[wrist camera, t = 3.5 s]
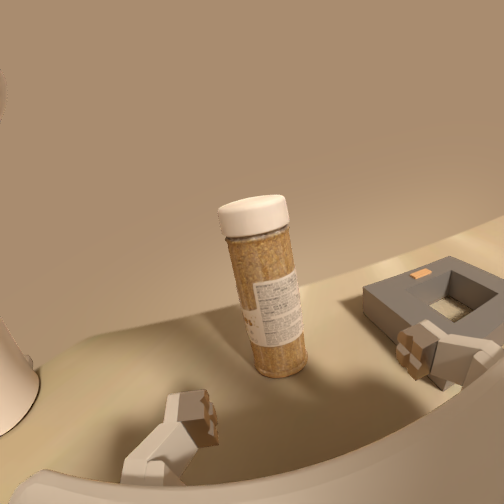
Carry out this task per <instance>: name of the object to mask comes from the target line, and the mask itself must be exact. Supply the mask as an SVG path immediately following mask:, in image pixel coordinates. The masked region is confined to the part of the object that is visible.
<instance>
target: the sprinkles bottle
mask: <svg viewBox="0 0 504 504" xmlns="http://www.w3.org/2000/svg"><path fill="white" fill-rule="evenodd" d="M218 217H219V223H220V227H221V231H222V234H223V235H224V236H226V238H225V241H226V242H227V244H228V249H229V253H230V258H231V262H232V267H233V271H234V276H235V280H236V287H237V292H238V296H239V300H240V305H241V309H242V313H243V317H244V321H245V325H246V329H247V334H248V337H249V339H250V342H251V347H252V350H253V353H254V358H255V359H254V364H255V367H256V369H257V370H258V371H259V372H260V373H261V374H262V375H264V376H267V377H271V378H282V377H287V376H290V375H293V374H295V373H297V372H299V371H300V370H301V369H303V367H304V366H305V365H306V362H307V358H308V354H307V351H306V349H305V343H304V334H303V319H302V311H301V303H300V295H299V288H298V281H297V275H296V268H295V265H294V261H293V255H292V248H291V242H290V236H289V226H288V223H289V214H288V209H287V204H286V200H285V197H284V196H282V195H264V196H257V197H251V198H246V199H242V200H238V201H235V202H231V203H229V204H226V205H223V206H221V207H220V208H219V209H218Z"/></svg>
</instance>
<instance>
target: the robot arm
mask: <svg viewBox="0 0 504 504" xmlns="http://www.w3.org/2000/svg"><path fill="white" fill-rule="evenodd" d="M6 102H7V84H6V80H5V77H4V74H3V72H2V71H1V70H0V122H1V120H2V117H3V114H4V111H5V107H6ZM397 340H398V341H399V344H398V346H397V347H396V357H397V360H398V362H399V364H400V365H401V366H402V367H405V368H408V371H407V372H408V374H409V375H410V376H411V377H412V378H413V379H414V380H415V381H416V380H418V379H420V378H422V377H424V376H426V375H428V374H431V375H434V376H436V377H439V378H442V379H445V380H447V381H450V382H453V383H456V384H458V385H461V386H462V389H461V391H460V392H459V393H458V394H457V395H455V396H454V397H452V398H451V399H449V400H448V401H446V402H445V403H444V404H442V405H440V406H439V407H437V408H436V409H434V410H433V411H431V412H429V413H428V414H426V415H425V416H423V417H421V418H419V419H418V420H416V421H414V422H412V423H411V424H409V425H407V426H405V427H403V428H401V429H400V430H398V431H396V432H394V433H392V434H390V435H388V436H386V437H384V438H381V439H379V440H377V441H375V442H373V443H371V444H368V445H366V446H364V447H361V448H359V449H356V450H354V451H351V452H349V453H346V454H344V455H341V456H338V457H335V458H333V459H330V460H327V461H324V462H321V463H318V464H314V465H311V466H308V467H304V468H301V469H297V470H293V471H289V472H285V473H281V474H276V475H272V476H267V477H262V478H257V479H251V480H245V481H238V482H231V483H222V484H212V485H199V486H186V485H185V484H184V483H183V482H182V481H181V480H180V479H179V478H180V477H181V475H182V474H183V472H184V471H185V469H186V468H187V466H188V465H189V463H190V461H191V460H192V458H193V457H194V455H195V453H196V452H197V450H198V448H202V447H209V446H216V445H219V438H218V431H217V429H216V425H217V424H218V422H217V415H216V411H215V408H214V405H213V403H212V402H210V401H209V394H208V392H207V390H206V389H203V390H195V391H187V392H181V393H170V394H169V395H168V396H167V401H166V408H165V414H164V421H163V423H160V424H159V425H158V426H157V427H156V428H155V429H154V430H153V431H152V432H151V433H150V434H149V435H148V436H147V437H146V438H145V439H144V440H143V441H142V442H141V443H140V444H139V445H138V446H137V447H136V448H135V449H134V450H133V451H132V452H131V453H130V454H129V455H128V456H127V457H126V458H125V460H124V465H123V470H122V475H121V480H120V484H119V483H111V482H104V481H97V480H92V479H86V478H81V477H76V476H72V475H68V474H64V473H60V472H56V471H53V470H48V469H43V470H40V471H38V472H36V473H35V474H33V475H32V476H30V477H29V478H27V479H26V480H24V481H23V482H21V483H20V484H19V485H18V486H17V487H16V489H15V490H14V492H13V494H12V496H11V498H10V500H9V503H8V504H504V349H503V348H502V347H500V346H499V345H498V344H496V343H495V342H493V341H492V340H486V339H479V338H473V337H467V336H461V335H455V334H449V335H448V334H446V333H445V332H444V331H442V330H441V329H440V328H438V327H437V326H436V325H434V324H433V323H432V322H430V321H429V320H426V319H425V320H423V321H421V322H419V323H417V324H415V325H413V326H411V327H409V328H407V329H405V330H402V331H400V332H399V333H398V337H397ZM38 388H39V379H38V376H37V374H36V373H35V372H34V370H33V361H32V359H31V358H30V356H29V355H23V353H22V351H21V350H20V348H19V347H18V345H17V344H16V342H15V340H14V339H13V337H12V335H11V334H10V332H9V330H8V329H7V327H6V325H5V323H4V322H3V320H2V318H1V316H0V436H1V435H3V434H4V433H6V432H7V431H9V430H10V429H11V428H13V427H14V426H15V425H16V424H17V423H18V422H19V421H20V420H21V419H22V418H23V416H24V415H25V414H26V413H27V411H28V410H29V409H30V407H31V405H32V404H33V402H34V400H35V398H36V395H37V392H38Z"/></svg>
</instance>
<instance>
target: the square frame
mask: <svg viewBox="0 0 504 504" xmlns="http://www.w3.org/2000/svg"><path fill="white" fill-rule="evenodd" d="M448 295H449V296H451V297H453V298H454V299H456V300H458V301H459V302H461V303H463V304H464V305H466V306H468V307H469V308H471V309H473V310H474V311H473V312H471V313H470V314H468V315H466V316H465V317H463V318H462V319H460V320H458V321H457V322H455V323H454V322H452V321H451V320H449V319H448V318H446V317H445V316H443V315H442V314H440V313H439V312H438V311H436V310H435V309H433V308H432V307H430V306H429V305H430V304H432V303H434V302H436V301H438V300H440V299H442V298H444V297H446V296H448ZM363 313H364V314H365V315H366V316H367V317H368V318H369V319H370V320H371V321H372V322H373V323H374V324H375V325H376V326H377V327H378V328H379V329H381V330H382V331H383V332H384V333H385V334H386V335H387V336H388V337H389V338H390V339H391V340H392V341H393V342H394V343H395V344H396V345H397V346H398V344H399V341H398V340H397V337H398V333H399V332H400V331H402V330H405V329H407V328H409V327H411V326H413V325H415V324H417V323H419V322H421V321H423V320H425V319H426V320H429V321H430V322H432V323H433V324H434V325H436V326H437V327H438V328H440V329H441V330H442V331H444V332H445V333H446V334H448V335H449V334H455V335H461V336H467V337H473V338H479V339H486V340H492V341H493V342H495V343H496V344H498V345H499V346H500V347H501V346H502V345H503V344H504V279H501V278H499V277H497V276H495V275H493V274H491V273H488V272H486V271H484V270H482V269H480V268H477V267H475V266H473V265H470V264H468V263H466V262H463V261H461V260H459V259H456V258H454V257H451V256H448V257H445V258H443V259H440V260H438V261H435V262H432V263H430V264H427V265H425V266H422V267H419V268H416V269H414V270H411V271H408V272H405V273H403V274H400V275H397V276H394V277H391V278H388V279H385V280H382V281H379V282H376V283H373V284H370V285H367V286H364V287H363ZM427 376H428V377H429V378H430V379H431V380H432V381H433V382H434V383H435V384H436V385H437V386H438V387H439V388H440V389H441V390H442V391H444V390H446V389H447V388H449V387H450V386H452V385H453V384H455V383H453V382H450V381H447V380H445V379H442V378H439V377H436V376H434V375H431V374H428V375H427Z"/></svg>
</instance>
